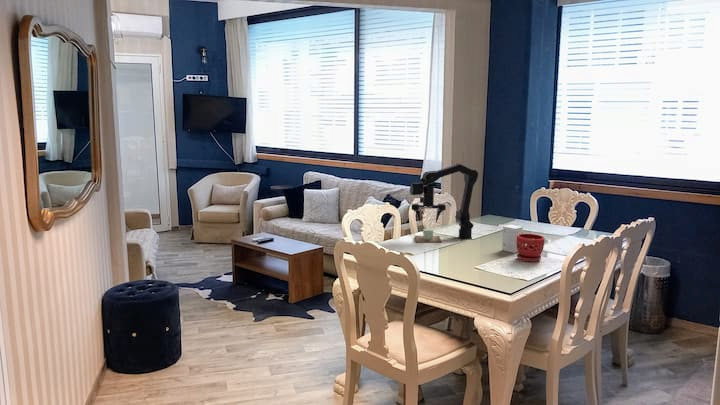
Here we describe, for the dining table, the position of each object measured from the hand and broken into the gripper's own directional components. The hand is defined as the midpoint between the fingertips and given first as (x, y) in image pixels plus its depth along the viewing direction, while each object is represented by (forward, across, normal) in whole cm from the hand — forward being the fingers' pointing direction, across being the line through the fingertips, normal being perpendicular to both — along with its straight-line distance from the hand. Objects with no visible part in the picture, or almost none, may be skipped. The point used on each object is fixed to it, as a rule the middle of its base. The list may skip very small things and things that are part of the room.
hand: (428, 221), depth 313 cm
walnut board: (+10, 0, 0) cm, 11 cm away
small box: (+11, -42, +22) cm, 49 cm away
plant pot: (+11, -47, +38) cm, 61 cm away
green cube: (+10, 0, 0) cm, 10 cm away
